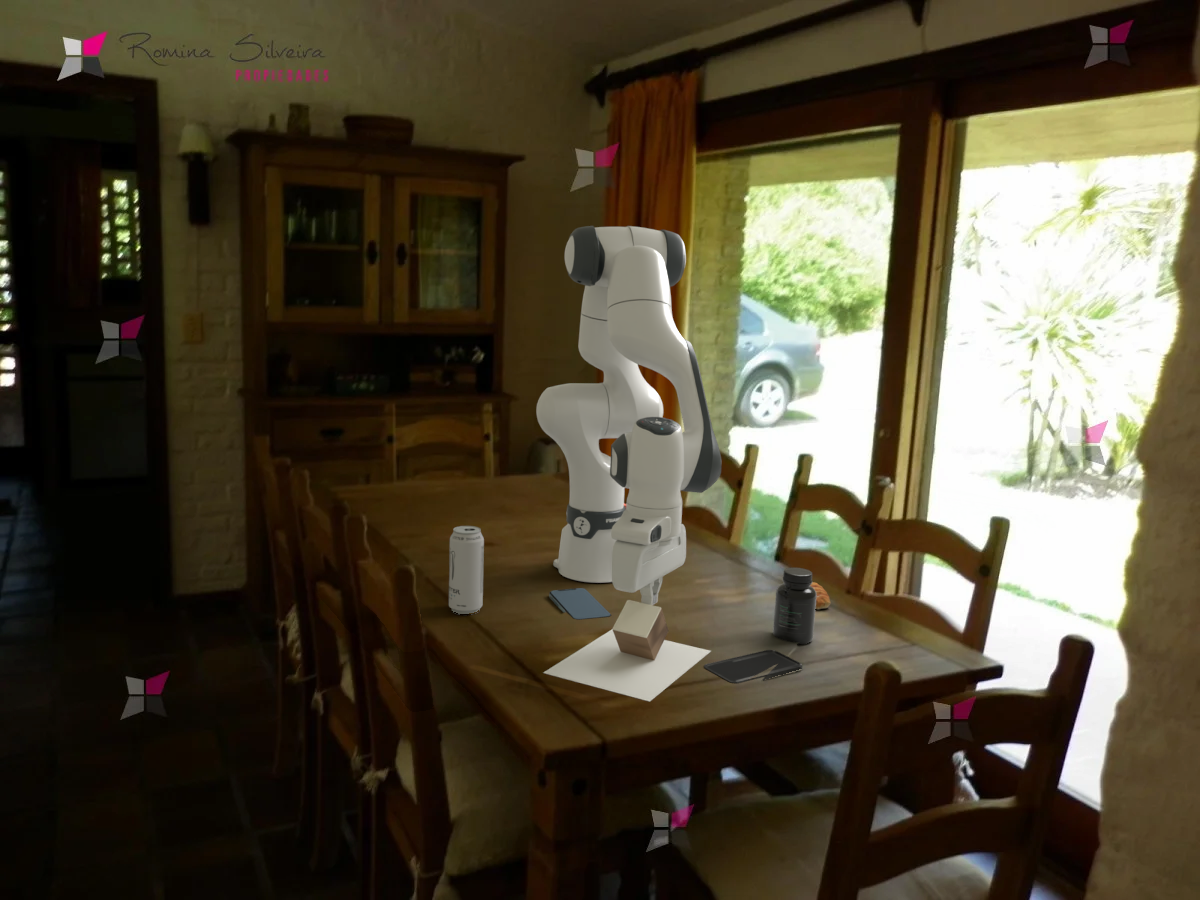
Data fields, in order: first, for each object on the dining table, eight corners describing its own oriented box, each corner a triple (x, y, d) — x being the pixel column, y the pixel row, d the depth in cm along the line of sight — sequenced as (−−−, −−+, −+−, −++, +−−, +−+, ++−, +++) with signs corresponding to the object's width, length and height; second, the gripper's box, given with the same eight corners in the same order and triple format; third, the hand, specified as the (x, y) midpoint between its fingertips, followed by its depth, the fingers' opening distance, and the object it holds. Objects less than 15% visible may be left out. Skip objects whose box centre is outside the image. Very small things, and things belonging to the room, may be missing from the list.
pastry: (839, 610, 186) (840, 591, 185) (808, 613, 184) (809, 594, 183) (812, 594, 194) (813, 576, 194) (782, 597, 192) (783, 578, 192)
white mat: (613, 631, 169) (614, 628, 169) (710, 654, 161) (711, 650, 161) (542, 676, 149) (543, 672, 149) (649, 705, 141) (649, 701, 141)
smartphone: (574, 619, 172) (547, 590, 186) (573, 628, 172) (547, 598, 186) (614, 615, 175) (585, 586, 189) (613, 624, 175) (584, 595, 189)
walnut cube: (635, 622, 162) (627, 599, 158) (668, 630, 159) (661, 607, 155) (620, 651, 159) (612, 628, 155) (654, 660, 156) (646, 637, 152)
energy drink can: (445, 606, 178) (446, 525, 176) (477, 603, 181) (479, 524, 178) (452, 617, 173) (454, 534, 170) (486, 614, 175) (487, 532, 172)
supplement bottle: (784, 628, 174) (789, 563, 172) (819, 638, 170) (825, 571, 168) (765, 638, 169) (770, 571, 167) (800, 649, 165) (806, 580, 163)
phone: (805, 665, 156) (733, 683, 148) (805, 672, 156) (732, 690, 148) (771, 648, 163) (700, 664, 154) (771, 655, 163) (700, 671, 155)
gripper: (663, 506, 166) (659, 585, 169) (605, 530, 149) (602, 618, 151) (697, 511, 164) (693, 591, 166) (643, 536, 146) (639, 626, 148)
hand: (649, 604), depth 158 cm, fingers closed
